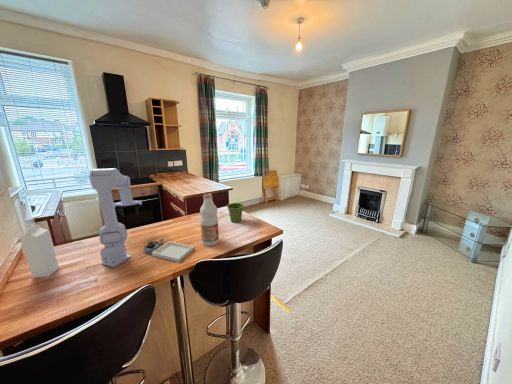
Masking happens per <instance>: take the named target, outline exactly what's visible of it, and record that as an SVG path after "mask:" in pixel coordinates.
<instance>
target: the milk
mask: <svg viewBox="0 0 512 384" xmlns="http://www.w3.org/2000/svg"><path fill="white" fill-rule="evenodd" d="M25 233H26V234H24V235H22V236H20V237H19V240H20V243H21V246H22V249H23V252H24V255H25V258H26V260H27V264H28V267H29V270H30V273H31V276H32V278H33V279H35V278H36V279H37V278H49V277H50V276H51V275H53V274H54V273H56V271H57V270H58V269H60V266H59V263H58V259H57V257H56V252H55V248H54V245H53V243H52V239H51V235H50V232H49V230H48V229H46V228H43V227H40V224H38V223H37V224H35V225H33V226H30V227H28V228H27V229H26V230H25Z"/></svg>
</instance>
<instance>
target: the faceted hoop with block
mask: <svg viewBox="0 0 512 384" xmlns="http://www.w3.org/2000/svg"><path fill="white" fill-rule="evenodd" d="M162 244H163V245H164V238H163V237H157V238H156V239H155V240H153V248H149V244H148V243H146V244H145V245H143V253H144V254H147V255H148V254H149V255H150V254H151V255H152V252H153V251H155V250H156V249H158V248H159V247H161V246H162Z"/></svg>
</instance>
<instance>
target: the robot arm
mask: <svg viewBox="0 0 512 384" xmlns="http://www.w3.org/2000/svg"><path fill="white" fill-rule="evenodd" d="M89 181H90V186H91V188H92V189H93V190H96V193H97V196H98V200H99V204H100V208H101V212H102V217H103V222H104V225H103V226H102V227H101V228H100V229H99V231H98V234H99V243H100V244H102V245H103V246H104V247H103V248H101V249H100V256H101V257H100V258H101V264H102V265H104V266H108V267H112V268H115V267H116V266H118V265H120V264H121V263H123V262H125V261H126V260H128V259H129V258H131V257H132V255H131V254H129V253H128V254H127V249H126V245H125V242H127V239H128V230H127V229H126V226H125V224H123V223H121V222H119V221H118V217H117V212H118V213H119V215H120V216H121V218H124V217H125V213H124V207H127V206H128V207H129V206H134V210H135V215H136V217H137V216H139V210H140V206H142V204H143V201H142V200H136V199H135V200H134V199H133V195H132V190H131V189H132V187H131V178H130V176H129V175H124V174H122V173H121V172H120V171H119V169H117V168H116V167H114V168H91V169H90V171H89ZM116 187H117V188H118V192H119V193H118V194H119V197H120V201H118V202H114V200H113V199H114V198H113V193H112V190H113V189H115V188H116ZM116 211H117V212H116Z"/></svg>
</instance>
